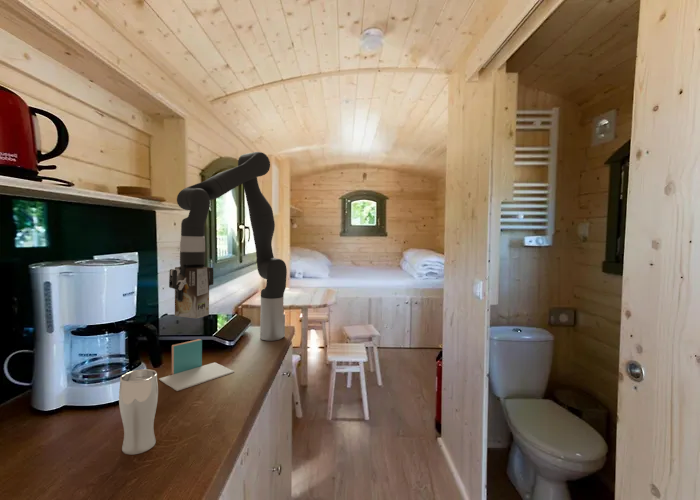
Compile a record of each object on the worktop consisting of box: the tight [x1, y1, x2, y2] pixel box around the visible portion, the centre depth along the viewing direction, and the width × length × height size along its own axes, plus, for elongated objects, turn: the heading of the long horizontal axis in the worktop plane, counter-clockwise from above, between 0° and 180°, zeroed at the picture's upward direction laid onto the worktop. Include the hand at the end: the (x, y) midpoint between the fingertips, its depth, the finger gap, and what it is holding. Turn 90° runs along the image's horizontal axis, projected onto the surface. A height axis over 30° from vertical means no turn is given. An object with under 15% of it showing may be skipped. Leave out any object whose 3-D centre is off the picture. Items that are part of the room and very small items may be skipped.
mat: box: [158, 362, 235, 392], centre depth 111 cm, size 18×11×1 cm, turn 141°
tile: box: [171, 338, 203, 375], centre depth 115 cm, size 9×2×9 cm, turn 141°
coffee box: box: [174, 266, 210, 319], centre depth 120 cm, size 9×6×16 cm
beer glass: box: [118, 368, 159, 456], centre depth 75 cm, size 7×7×15 cm
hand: (191, 299), depth 120 cm, fingers closed on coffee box, 7 cm apart
